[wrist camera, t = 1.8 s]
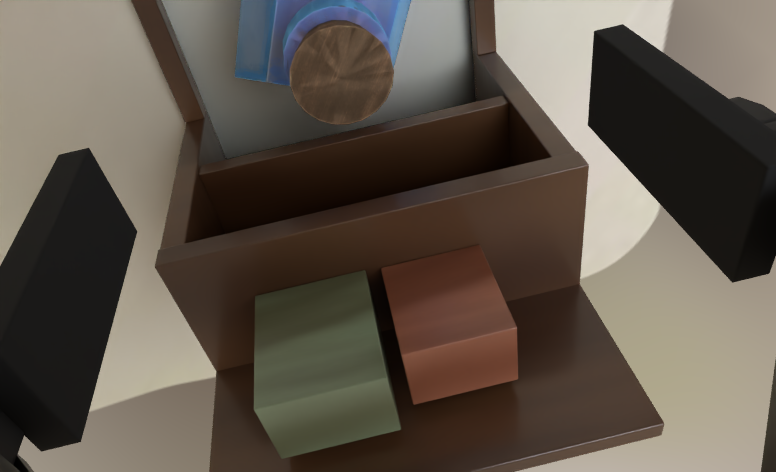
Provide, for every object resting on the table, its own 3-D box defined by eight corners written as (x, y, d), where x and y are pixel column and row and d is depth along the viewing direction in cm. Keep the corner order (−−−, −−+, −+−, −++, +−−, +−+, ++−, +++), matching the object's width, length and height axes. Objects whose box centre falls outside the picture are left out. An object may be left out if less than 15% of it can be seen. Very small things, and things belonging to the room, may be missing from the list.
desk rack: (67, -162, 22) (-291, -17, 8) (476, -251, 23) (858, -269, 8) (233, 218, 35) (213, 549, 20) (496, 157, 35) (661, 437, 21)
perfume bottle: (365, 45, 29) (412, 175, 20) (238, 22, 28) (228, 153, 18) (395, -90, 26) (469, -7, 17) (252, -126, 24) (246, -55, 15)
